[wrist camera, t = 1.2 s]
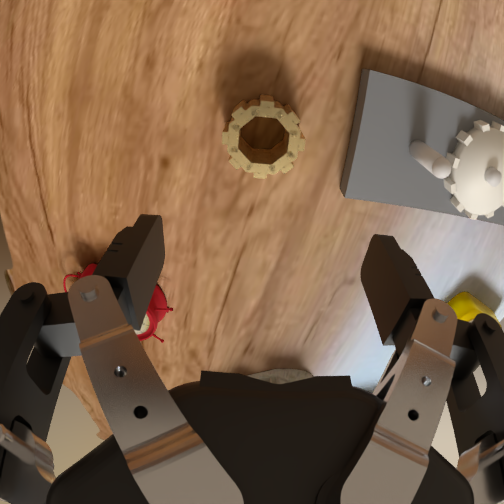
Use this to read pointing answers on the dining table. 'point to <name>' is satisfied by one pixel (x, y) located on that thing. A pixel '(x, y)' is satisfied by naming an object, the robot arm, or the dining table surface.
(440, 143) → the gear board
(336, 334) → the dining table surface
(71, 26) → the dining table surface
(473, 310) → the element tile
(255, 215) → the dining table surface
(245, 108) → the brass gear
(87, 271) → the alarm clock
